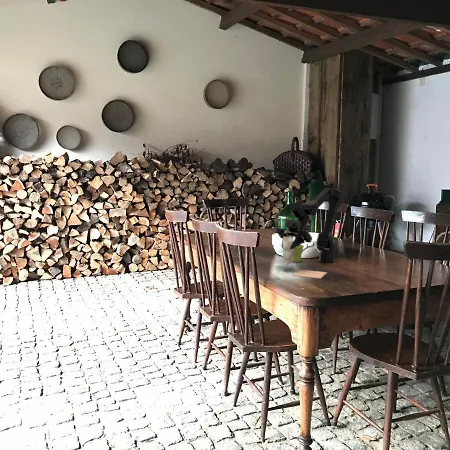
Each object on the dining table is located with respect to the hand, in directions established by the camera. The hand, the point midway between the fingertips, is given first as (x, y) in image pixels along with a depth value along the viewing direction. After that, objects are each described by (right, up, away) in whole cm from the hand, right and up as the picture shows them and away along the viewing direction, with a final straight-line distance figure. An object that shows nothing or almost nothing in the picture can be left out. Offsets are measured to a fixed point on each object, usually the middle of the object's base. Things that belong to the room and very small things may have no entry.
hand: (286, 248), depth 237 cm
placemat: (+11, -12, -5) cm, 17 cm away
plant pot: (+8, -8, +26) cm, 29 cm away
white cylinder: (+1, -6, +2) cm, 7 cm away
